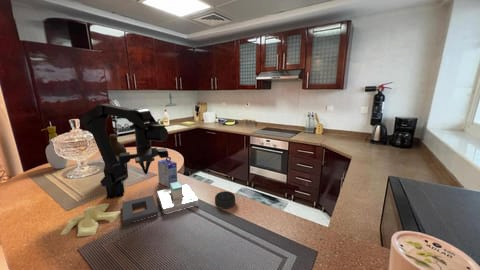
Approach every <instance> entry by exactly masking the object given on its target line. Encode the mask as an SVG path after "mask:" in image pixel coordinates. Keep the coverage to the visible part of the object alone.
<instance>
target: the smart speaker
mask: <svg viewBox="0 0 480 270" xmlns="http://www.w3.org/2000/svg"><path fill="white" fill-rule="evenodd" d="M214 204H215V206H216V207H217V206H218V207H217V208H219V207H220V208H219V209H230V208H232V207H234V206H235V204H236V195H235V194H234V193H233V192H231V191H221V192H218V193H216V194H215V197H214Z"/></svg>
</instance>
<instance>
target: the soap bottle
mask: <svg viewBox="0 0 480 270" xmlns="http://www.w3.org/2000/svg"><path fill="white" fill-rule="evenodd" d="M56 127H57V126H47V128H43V129H41V130H40V131H41V132H42V131H44V130H46V129H47V131H48V133H49V134H48V137H49V139H48V141H49V144H48V145H47V146H46V148H45V155H46V159H47V160H46V161H47V162H48V164H49V165H50V167H51V168H53V169H56V170H57V169H58V170H59V169H64V168H67V164H68V159H64V158H61V157H59V156H58V155H57V154H56V153H55V151H54V147H53V143H52V142H51V139H52V138H54V137H57V138H58V134H57V133H56Z"/></svg>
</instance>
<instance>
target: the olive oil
mask: <svg viewBox="0 0 480 270" xmlns="http://www.w3.org/2000/svg"><path fill="white" fill-rule="evenodd" d="M109 141H110V144H111V146H112V148H113V151H114V153H115V156H116V158H117V160H118V161H119V154H120V153H126V152H127V148H126V146H124V145H123V144H122V143H121V142H119V141H118V134H117V133H113V134H112V133H111V134H110V135H109ZM125 167H126V168H127V174H126V177H125V179H124V180H126V179H128V178H129V171H128V168H129V167H128V163H125Z"/></svg>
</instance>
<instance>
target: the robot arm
mask: <svg viewBox="0 0 480 270" xmlns="http://www.w3.org/2000/svg"><path fill="white" fill-rule="evenodd" d="M110 116H113V117H117V118H122V119H126V120H127V121H128V122H129V123H132V125H131V126H130V127H129V128H130V129H131V130H134V135H135V146H136V147H135V149H136V150H135V151H136V153H134V154H133V153H132V154H131V153H130V151H128V152H126V153H120V154H119V161H118V160H117V158H116V156H115V153H114V151H113V148H112V146H111V144H110V138H109V136H108V134H107V132H106V130H107V129H106V128H107V120H108V119H109V117H110ZM80 122H81V123H82V125H83V128H84V130H86V131H87V132H88V133H90V134H91V135H92V137H93V140H94V141H95V144H96V146H97V148H98V151H99V154H100V157H101V158H102V161H103V162H104V167H103V174H104V176H103V178H102V179H101V180H100V185H101V187H105V191H106V199H107V200H111V199H114V198H119V197H123V196H124V193H125V183H124V182H123V181H124V180H126V179H125V177H126V174H127V168H128V167H127V168H126V167H125V163H127V164H128V163H129V162H131V160H133V159H134V161H135V164H139V166H140V167H141V169H142V171H143V173H144V175H147V174H148V171H149V168H150V167H151V166H150V165H151V163H152V162H155V160H156V159H155V158H156V157H159V158H160V159H164V158H165V159H166V158H167V157H169V151H168V150H167V149H166V148H165V147H163V148H157V147H152V141H154V142H163V143H165V142H166V141H167V140H168V138H169V131H168V129H167V128H166V127H165V124H158V122H157V121H156V119H155V118H154V117H153V115H152V112H151V111H150V110H149V109H148V108H147V109H146V108H135V109H134V108H133V109H132V108H128V107H122V106H118V105H113V104H110V103H99V104H97V105H95V107H94V108H92V109H90V110H88V111H87V112H85V113H84V114H82V116H81V118H80Z"/></svg>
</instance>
